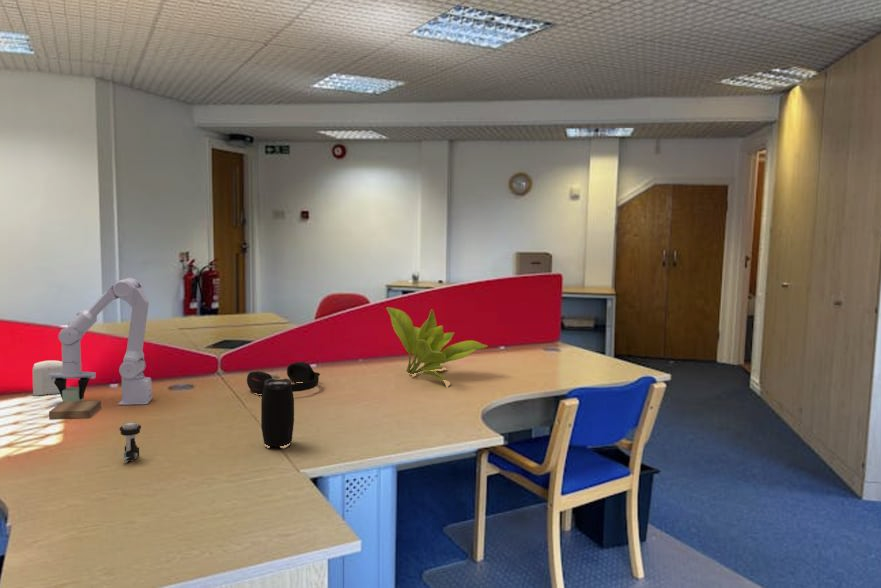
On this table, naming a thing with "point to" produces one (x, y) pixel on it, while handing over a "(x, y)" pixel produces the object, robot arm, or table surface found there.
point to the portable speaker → (277, 412)
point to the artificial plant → (428, 343)
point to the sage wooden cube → (71, 394)
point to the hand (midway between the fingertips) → (73, 398)
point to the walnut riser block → (75, 410)
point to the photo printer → (45, 377)
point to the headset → (294, 372)
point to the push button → (130, 440)
